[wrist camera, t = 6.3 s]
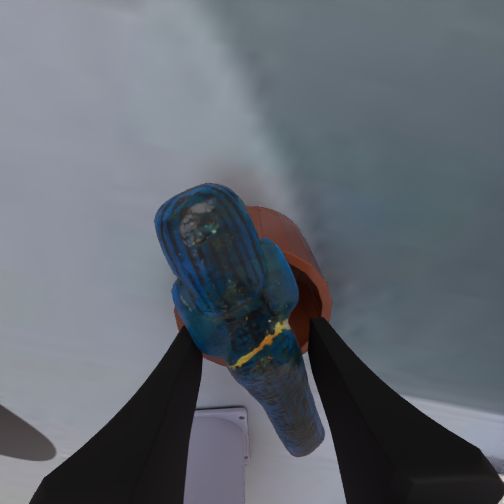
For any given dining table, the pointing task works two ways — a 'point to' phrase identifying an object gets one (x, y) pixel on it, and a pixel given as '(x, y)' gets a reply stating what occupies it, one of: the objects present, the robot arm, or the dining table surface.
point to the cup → (302, 266)
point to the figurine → (240, 305)
